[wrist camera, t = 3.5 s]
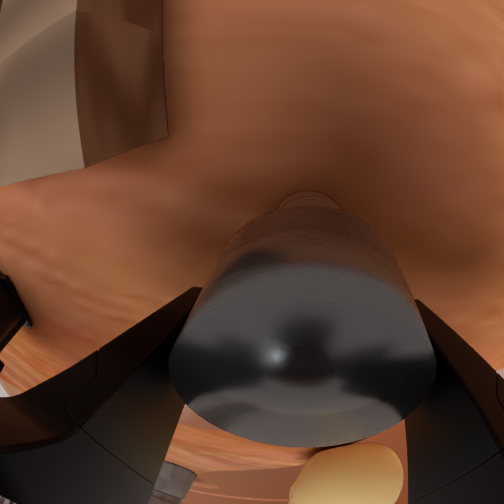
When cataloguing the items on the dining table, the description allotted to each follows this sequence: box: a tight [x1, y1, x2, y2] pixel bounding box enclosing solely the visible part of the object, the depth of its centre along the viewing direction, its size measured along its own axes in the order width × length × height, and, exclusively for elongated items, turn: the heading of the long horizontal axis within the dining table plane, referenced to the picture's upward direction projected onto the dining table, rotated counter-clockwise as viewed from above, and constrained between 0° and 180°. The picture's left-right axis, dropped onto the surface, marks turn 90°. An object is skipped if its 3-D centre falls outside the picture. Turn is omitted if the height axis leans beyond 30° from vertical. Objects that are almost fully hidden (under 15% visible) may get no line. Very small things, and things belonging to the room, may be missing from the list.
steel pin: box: [168, 191, 436, 447], centre depth 8 cm, size 5×5×8 cm
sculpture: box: [287, 443, 403, 504], centre depth 20 cm, size 11×12×11 cm
